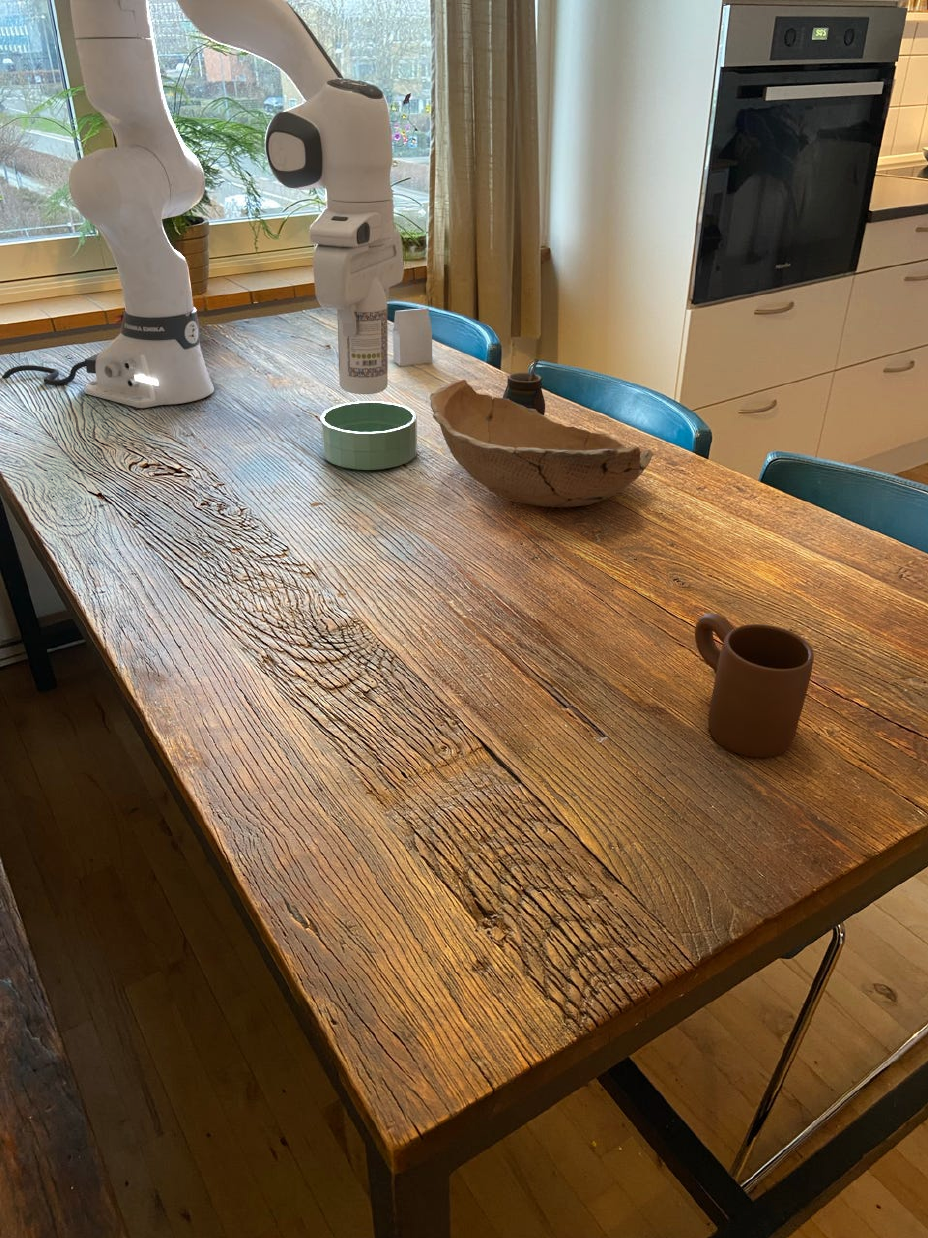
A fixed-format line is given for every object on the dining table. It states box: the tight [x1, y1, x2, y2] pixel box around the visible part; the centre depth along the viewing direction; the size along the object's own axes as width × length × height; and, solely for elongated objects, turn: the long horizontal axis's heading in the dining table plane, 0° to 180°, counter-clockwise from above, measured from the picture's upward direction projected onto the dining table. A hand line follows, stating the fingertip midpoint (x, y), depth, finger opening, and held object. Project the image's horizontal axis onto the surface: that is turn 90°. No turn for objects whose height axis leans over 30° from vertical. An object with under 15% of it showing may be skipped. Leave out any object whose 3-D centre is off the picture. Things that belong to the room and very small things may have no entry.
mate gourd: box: [502, 358, 546, 416], centre depth 148 cm, size 7×8×10 cm
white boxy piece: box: [392, 307, 433, 367], centre depth 178 cm, size 4×7×10 cm, turn 115°
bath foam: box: [336, 278, 389, 395], centre depth 127 cm, size 7×7×20 cm
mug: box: [694, 612, 815, 759], centre depth 81 cm, size 12×8×9 cm, turn 30°
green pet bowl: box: [319, 400, 418, 471], centre depth 136 cm, size 14×14×6 cm
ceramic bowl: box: [429, 379, 655, 508], centre depth 124 cm, size 30×27×15 cm
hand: (364, 328), depth 128 cm, fingers closed on bath foam, 7 cm apart
